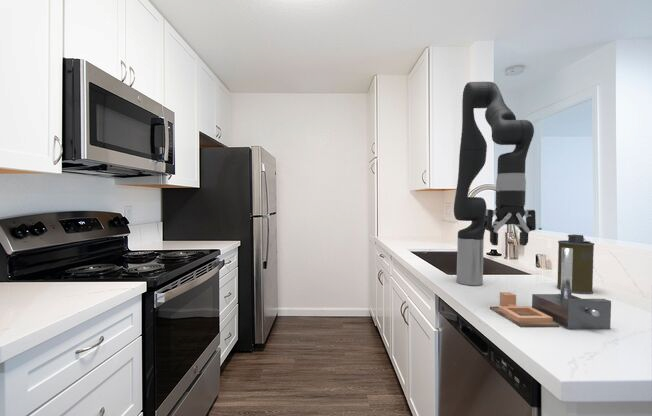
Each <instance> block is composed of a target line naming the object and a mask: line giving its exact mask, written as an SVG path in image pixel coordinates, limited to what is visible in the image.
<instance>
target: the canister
mask: <svg viewBox="0 0 652 416" xmlns="http://www.w3.org/2000/svg"><path fill="white" fill-rule="evenodd" d="M567 238H568V240H558V241H557V243H558V248H557V249H558V251H557V254H558V255H557V257H558V258H557V284H556V285H557V286H556V288H557V289H558V290H560V291H561V259H562V248H572V249H573V262H572V294H578V295H579V294H582V295H591V294H593V293H594V291H593V287H594V286H593V281H594V249H595V247H594V246H595V243H593V242H591V241H588V240H586V239H585V238H584V235H583V234H567Z"/></svg>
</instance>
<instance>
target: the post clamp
mask: <svg viewBox="0 0 652 416" xmlns="http://www.w3.org/2000/svg"><path fill="white" fill-rule="evenodd" d="M572 262H573V249H572V248H562V259H561V290H560V293H555V294H554V293H532V294H531V299H532V300H531V301H532V302H531V307H532V308H534V309H536V310H538V311H540V312H542V313H544V314H546V315H548V316H550V317H552V318H553V322H555V323H557V324H559V327H562V328H565V329H567V330H611V319H612V301H611V300H609V299H606V298H582V297H578V296H575V295H573V293H572Z"/></svg>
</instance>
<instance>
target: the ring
mask: <svg viewBox="0 0 652 416" xmlns="http://www.w3.org/2000/svg"><path fill="white" fill-rule="evenodd" d="M497 307H498V311H500V312H502V313H503V314H505V315H507V316H508V317H510V318H512V319H514V320H515V321H517V322H553V318H552V317H550V316H548V315H546V314H544V313H542V312H540V311H538V310H536V309H534V308H532V306H529V305H527V306H524V305H522V306H520V305H519V306H518V305H517V294H515V293H513V292H511V291H499V306H497ZM514 312H528V313H530V314H532V315H534V316H520V315H518V314H516V313H514Z"/></svg>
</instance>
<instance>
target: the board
mask: <svg viewBox="0 0 652 416" xmlns="http://www.w3.org/2000/svg"><path fill="white" fill-rule="evenodd" d="M489 309H490V310H491V311H493V312H495V313H497V314H498V315H499V316H501V317H503V318H505V319H506V320H508V321H510V322H511V323H513V324H515V325H517V326H518V327H520V328H559V327H560V325H559V324H557V323H555V322H517V321H515V320H514V319H512V318H510V317H508V316H507V315H505V314H503V313H502V312H500V311H498V306H489ZM514 313H516V314H518V315H520V316H534V315H532V314H530V313H528V312H514Z"/></svg>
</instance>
